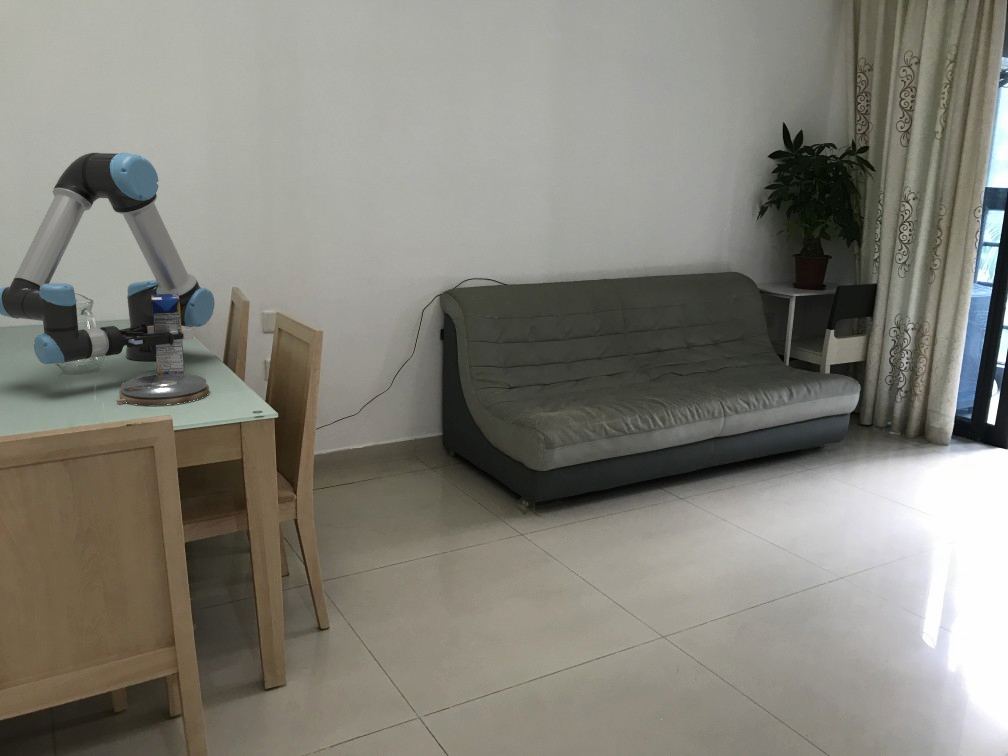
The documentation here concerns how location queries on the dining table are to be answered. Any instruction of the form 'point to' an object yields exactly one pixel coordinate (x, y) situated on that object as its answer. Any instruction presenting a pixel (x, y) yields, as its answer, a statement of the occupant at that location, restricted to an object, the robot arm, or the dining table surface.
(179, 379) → the turntable
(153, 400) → the turntable base
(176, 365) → the beverage box
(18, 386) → the dining table surface
